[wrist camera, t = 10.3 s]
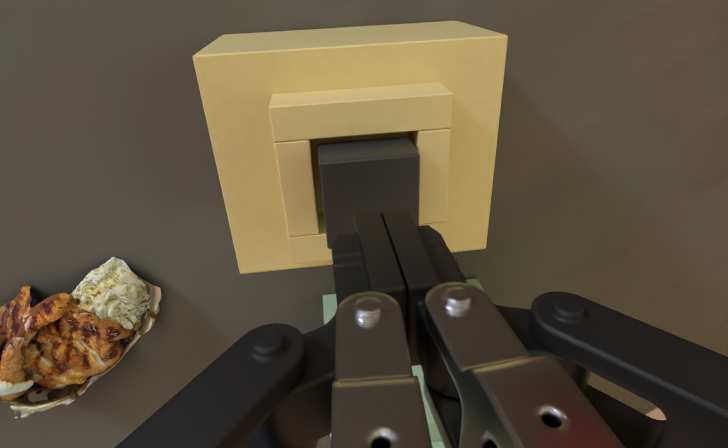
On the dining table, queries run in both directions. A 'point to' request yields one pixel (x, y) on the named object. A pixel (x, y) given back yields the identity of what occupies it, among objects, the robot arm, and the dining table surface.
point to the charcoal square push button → (367, 180)
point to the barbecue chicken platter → (72, 336)
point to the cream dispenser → (349, 126)
